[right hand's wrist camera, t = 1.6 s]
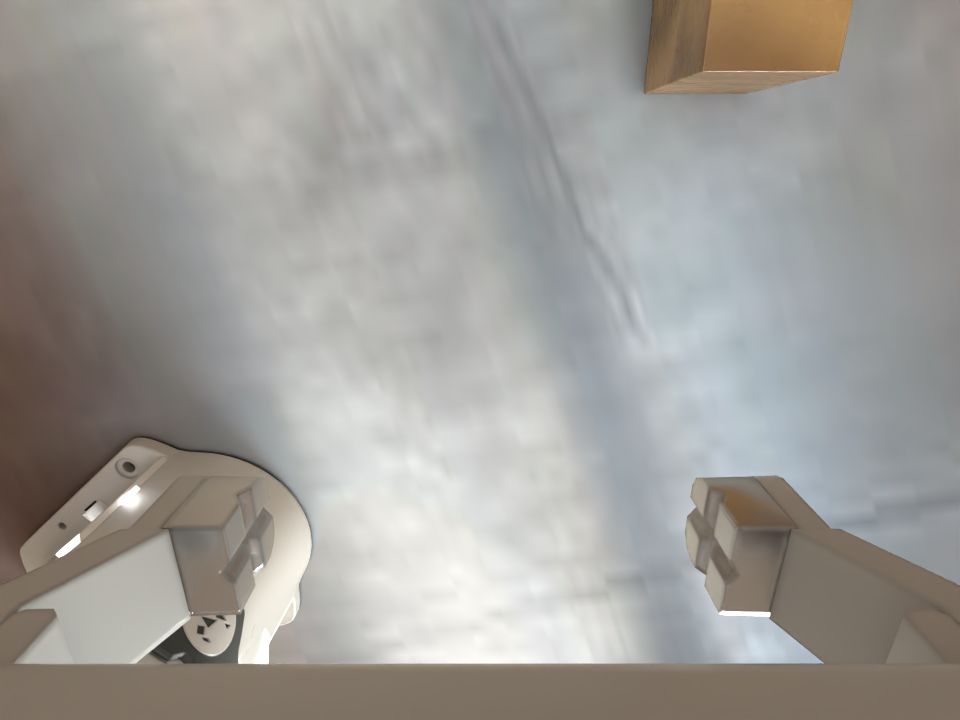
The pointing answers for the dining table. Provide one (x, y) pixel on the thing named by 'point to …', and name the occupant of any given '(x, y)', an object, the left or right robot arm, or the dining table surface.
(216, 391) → the dining table surface
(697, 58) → the bar
